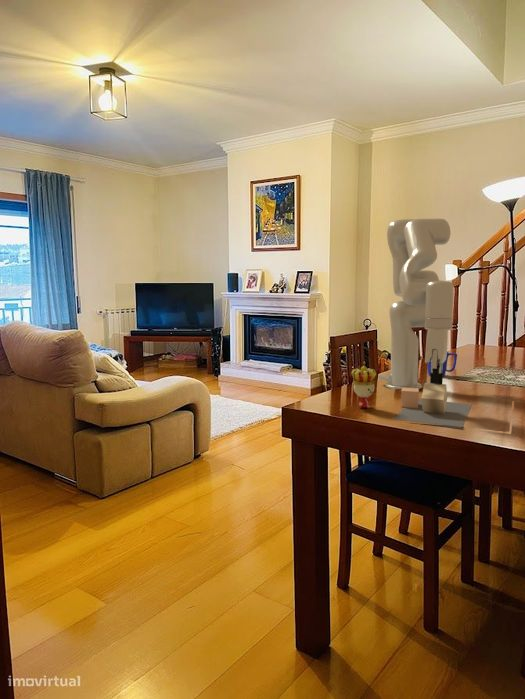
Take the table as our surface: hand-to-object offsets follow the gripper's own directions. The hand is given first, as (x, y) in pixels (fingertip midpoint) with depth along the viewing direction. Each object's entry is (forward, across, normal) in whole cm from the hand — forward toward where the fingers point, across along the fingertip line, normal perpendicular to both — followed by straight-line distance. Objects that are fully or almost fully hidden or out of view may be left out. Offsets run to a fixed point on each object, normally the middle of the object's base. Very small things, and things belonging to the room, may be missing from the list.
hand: (436, 386), depth 150 cm
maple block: (+1, 0, 0) cm, 1 cm away
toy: (+8, +6, -20) cm, 22 cm away
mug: (+8, -63, -7) cm, 64 cm away
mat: (+8, +1, 0) cm, 8 cm away
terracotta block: (+7, -3, -8) cm, 11 cm away
